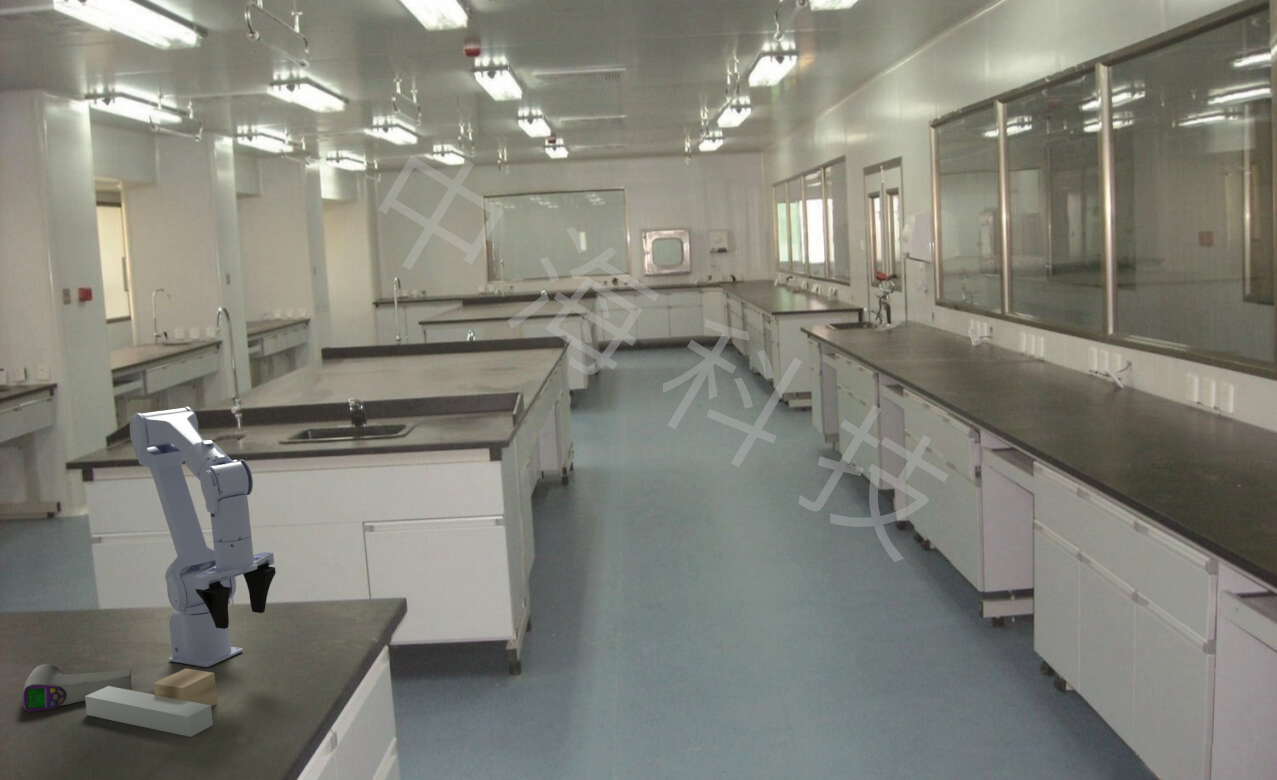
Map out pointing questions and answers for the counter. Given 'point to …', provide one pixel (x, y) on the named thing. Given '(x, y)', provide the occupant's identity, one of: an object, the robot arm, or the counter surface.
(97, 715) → the board
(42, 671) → the infrared thermometer
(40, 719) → the counter surface
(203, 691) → the block
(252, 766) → the counter surface
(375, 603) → the counter surface
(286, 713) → the counter surface
